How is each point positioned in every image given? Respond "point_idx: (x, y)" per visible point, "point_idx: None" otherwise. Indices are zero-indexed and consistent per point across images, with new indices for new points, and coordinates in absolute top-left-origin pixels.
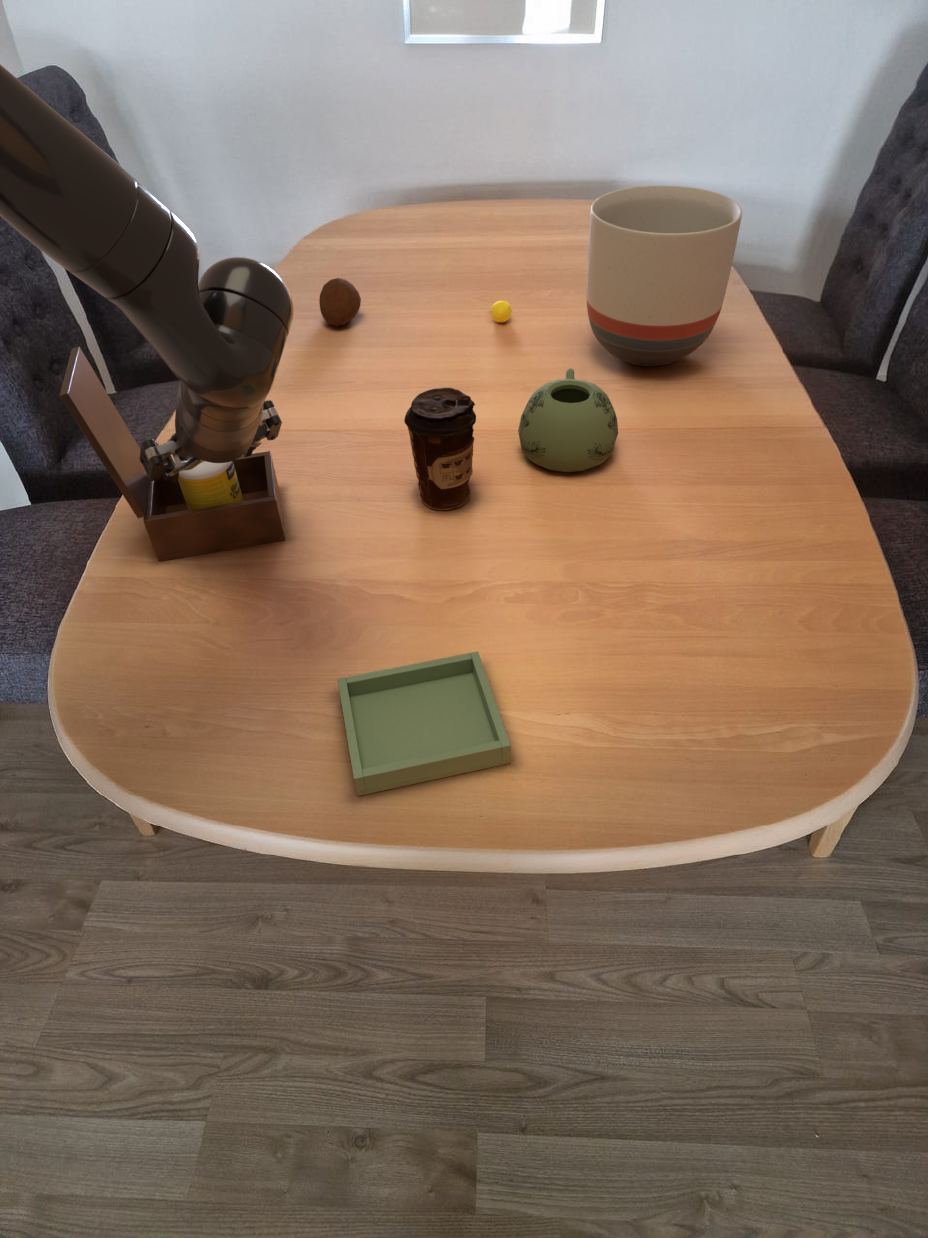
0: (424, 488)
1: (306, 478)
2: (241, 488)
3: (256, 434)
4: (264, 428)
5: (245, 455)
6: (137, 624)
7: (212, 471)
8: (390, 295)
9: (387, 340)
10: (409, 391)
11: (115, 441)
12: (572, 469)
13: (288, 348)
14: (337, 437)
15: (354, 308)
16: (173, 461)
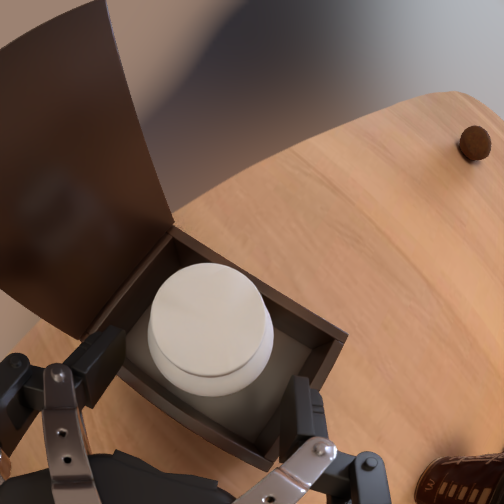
0: (430, 494)
1: (361, 350)
2: (276, 324)
3: (313, 485)
4: (342, 490)
5: (280, 411)
6: (39, 417)
7: (195, 394)
8: (495, 162)
9: (492, 200)
10: (494, 280)
11: (60, 218)
12: None
13: (427, 143)
14: (426, 297)
15: (483, 157)
16: (87, 389)
